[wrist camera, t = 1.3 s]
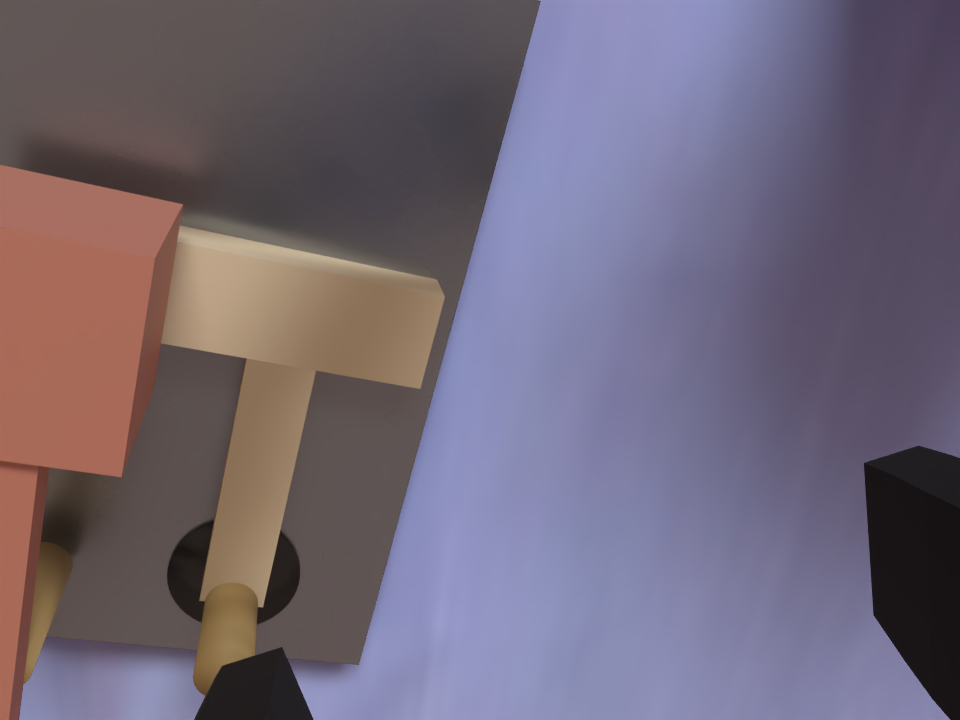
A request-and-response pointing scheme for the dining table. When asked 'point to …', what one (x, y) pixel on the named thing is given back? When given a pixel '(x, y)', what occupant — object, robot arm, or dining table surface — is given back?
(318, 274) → the beam
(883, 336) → the dining table surface
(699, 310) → the dining table surface
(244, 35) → the bolt plate
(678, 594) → the dining table surface
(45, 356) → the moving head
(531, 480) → the dining table surface
